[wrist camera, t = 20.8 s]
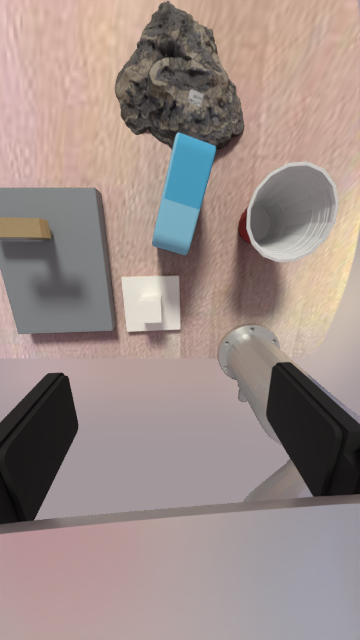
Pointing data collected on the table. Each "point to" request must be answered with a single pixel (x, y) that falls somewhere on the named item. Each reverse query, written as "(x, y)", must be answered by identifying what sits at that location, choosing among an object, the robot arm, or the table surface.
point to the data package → (183, 193)
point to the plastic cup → (290, 212)
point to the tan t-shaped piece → (24, 229)
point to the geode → (178, 83)
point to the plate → (58, 262)
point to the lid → (151, 302)
